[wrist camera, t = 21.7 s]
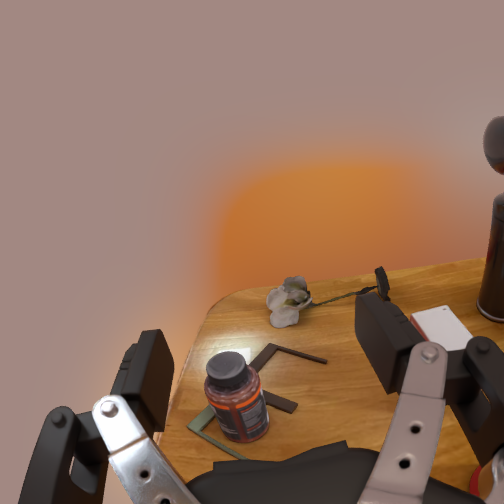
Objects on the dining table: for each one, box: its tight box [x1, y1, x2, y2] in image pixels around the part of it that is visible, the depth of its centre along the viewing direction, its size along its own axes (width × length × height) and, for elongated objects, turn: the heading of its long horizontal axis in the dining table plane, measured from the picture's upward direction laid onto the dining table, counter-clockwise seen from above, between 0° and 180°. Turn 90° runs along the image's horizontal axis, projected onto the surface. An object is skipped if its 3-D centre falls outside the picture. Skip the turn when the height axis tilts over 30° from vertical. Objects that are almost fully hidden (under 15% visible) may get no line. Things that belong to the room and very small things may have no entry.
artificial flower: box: [266, 266, 391, 328], centre depth 50 cm, size 9×22×10 cm, turn 86°
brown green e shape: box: [187, 343, 327, 460], centre depth 36 cm, size 19×10×1 cm, turn 144°
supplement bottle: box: [204, 351, 269, 443], centre depth 30 cm, size 6×6×11 cm
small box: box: [410, 305, 473, 351], centre depth 29 cm, size 8×6×10 cm
